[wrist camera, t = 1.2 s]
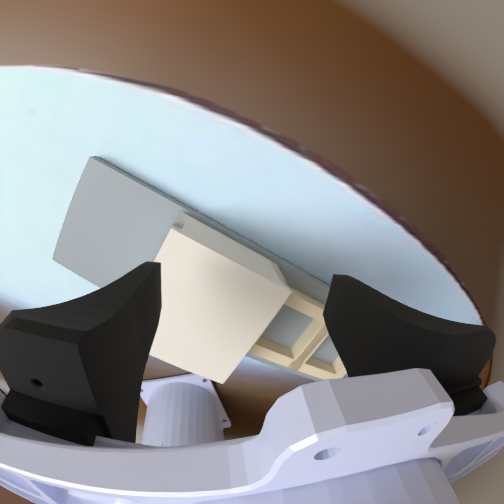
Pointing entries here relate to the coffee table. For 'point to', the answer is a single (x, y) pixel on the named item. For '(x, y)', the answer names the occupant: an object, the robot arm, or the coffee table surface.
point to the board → (149, 243)
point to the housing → (212, 299)
